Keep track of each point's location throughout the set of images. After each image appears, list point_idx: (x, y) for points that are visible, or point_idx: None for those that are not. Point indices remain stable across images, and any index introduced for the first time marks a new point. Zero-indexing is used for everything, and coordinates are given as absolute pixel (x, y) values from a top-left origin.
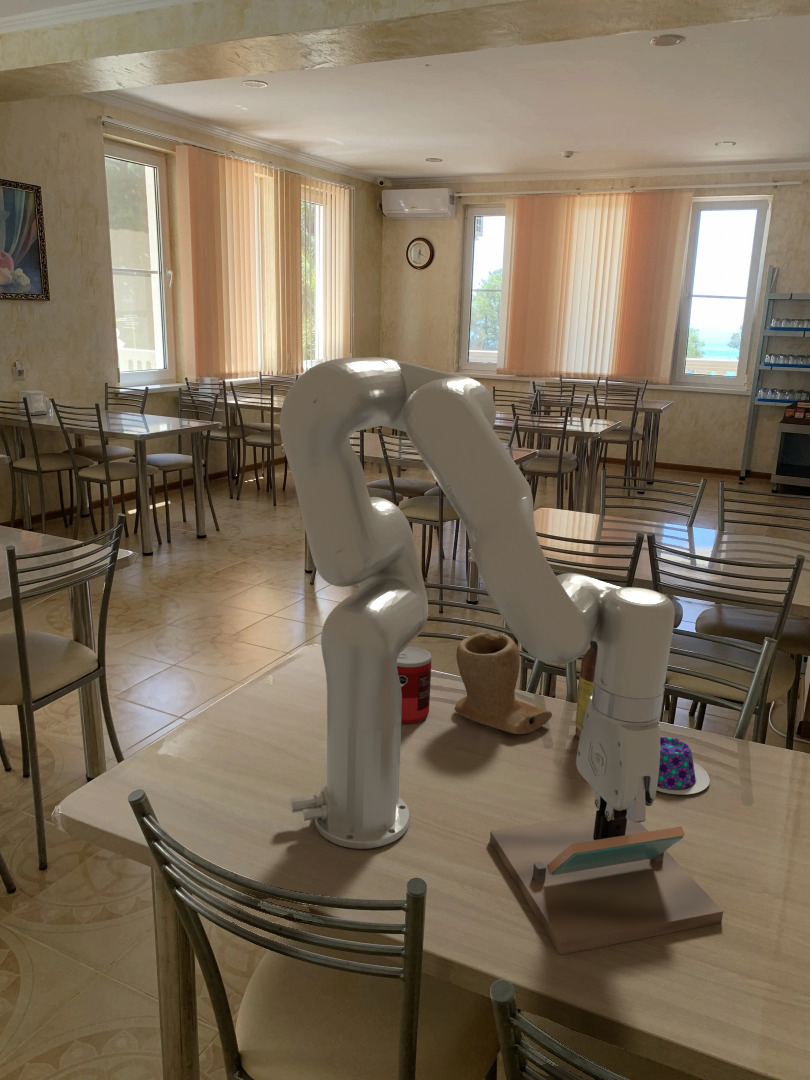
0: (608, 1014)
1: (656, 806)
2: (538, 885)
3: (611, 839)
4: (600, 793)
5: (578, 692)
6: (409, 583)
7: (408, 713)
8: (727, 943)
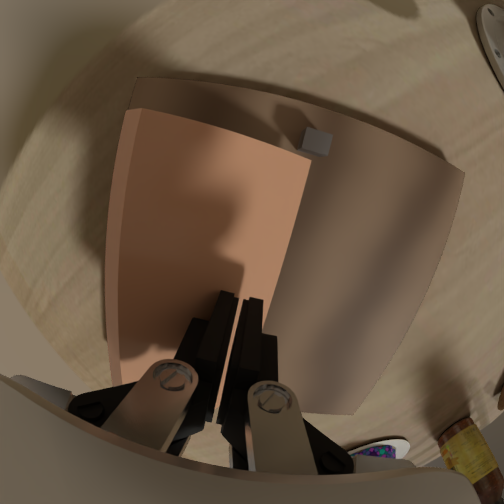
0: (55, 100)
1: (340, 437)
2: (291, 127)
3: (113, 296)
4: (97, 456)
5: (491, 452)
6: None
7: None
8: (89, 329)
